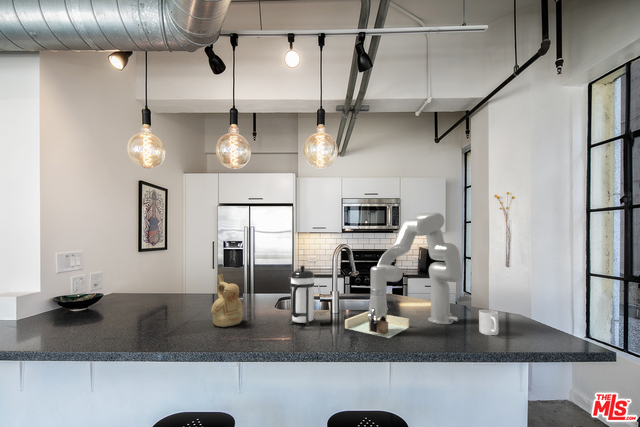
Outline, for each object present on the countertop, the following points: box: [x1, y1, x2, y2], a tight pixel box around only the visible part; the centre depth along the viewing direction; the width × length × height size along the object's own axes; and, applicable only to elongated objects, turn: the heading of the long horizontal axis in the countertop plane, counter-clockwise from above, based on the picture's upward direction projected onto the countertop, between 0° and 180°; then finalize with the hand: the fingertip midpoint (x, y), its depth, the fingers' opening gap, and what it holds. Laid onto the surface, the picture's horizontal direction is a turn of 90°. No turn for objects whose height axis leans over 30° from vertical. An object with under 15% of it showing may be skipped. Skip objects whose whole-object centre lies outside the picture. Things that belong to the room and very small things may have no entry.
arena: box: [344, 311, 410, 339], centre depth 169 cm, size 24×22×4 cm
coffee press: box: [288, 265, 316, 327], centre depth 178 cm, size 17×16×30 cm
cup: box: [478, 309, 499, 336], centre depth 161 cm, size 8×12×10 cm
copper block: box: [369, 319, 388, 334], centre depth 162 cm, size 8×4×5 cm, turn 52°
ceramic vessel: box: [210, 273, 244, 328], centre depth 177 cm, size 17×20×25 cm
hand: (378, 329), depth 162 cm, fingers open, 8 cm apart
